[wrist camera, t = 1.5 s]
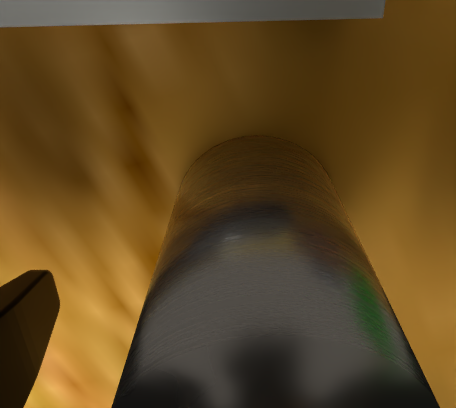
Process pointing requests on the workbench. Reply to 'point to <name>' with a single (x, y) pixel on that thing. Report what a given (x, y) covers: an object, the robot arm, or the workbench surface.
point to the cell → (266, 296)
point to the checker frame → (179, 11)
